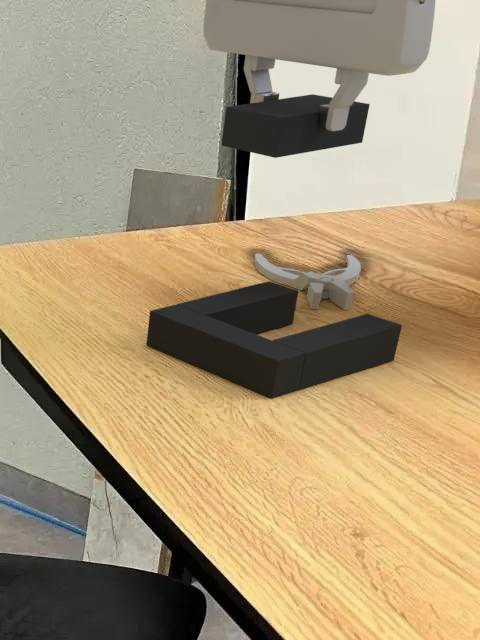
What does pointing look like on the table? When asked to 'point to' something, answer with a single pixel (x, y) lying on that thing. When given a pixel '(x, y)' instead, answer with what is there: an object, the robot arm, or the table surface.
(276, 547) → the table surface
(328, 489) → the table surface
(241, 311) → the black u-shaped frame
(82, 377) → the table surface
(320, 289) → the pliers
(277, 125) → the black block
